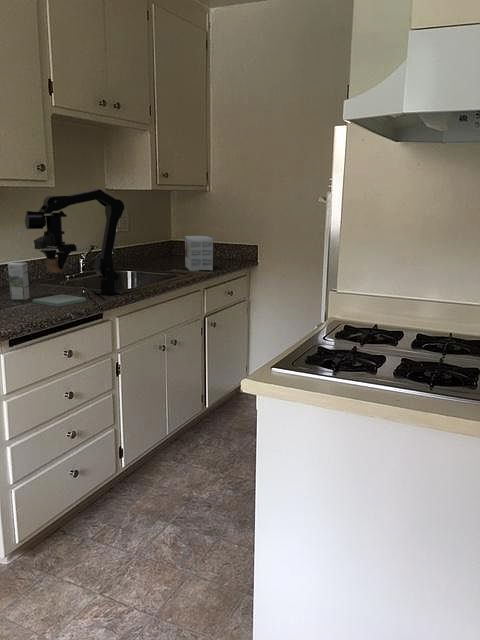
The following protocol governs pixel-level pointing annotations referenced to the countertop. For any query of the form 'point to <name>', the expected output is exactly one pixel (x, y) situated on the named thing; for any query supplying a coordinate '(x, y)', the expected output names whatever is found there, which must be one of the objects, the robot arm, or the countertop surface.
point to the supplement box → (198, 253)
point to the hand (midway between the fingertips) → (56, 268)
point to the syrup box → (18, 280)
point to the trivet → (59, 300)
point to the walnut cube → (54, 266)
